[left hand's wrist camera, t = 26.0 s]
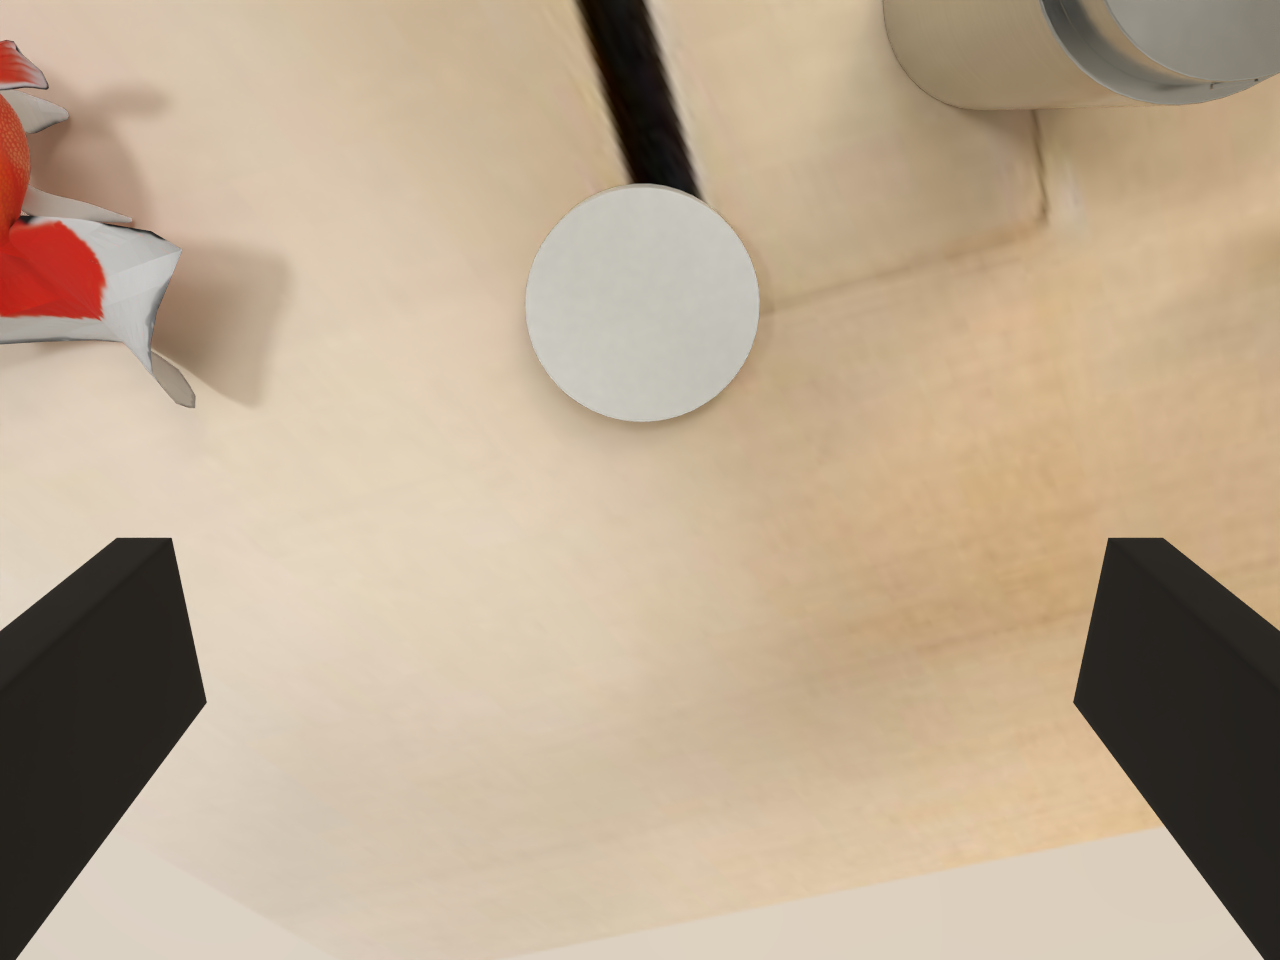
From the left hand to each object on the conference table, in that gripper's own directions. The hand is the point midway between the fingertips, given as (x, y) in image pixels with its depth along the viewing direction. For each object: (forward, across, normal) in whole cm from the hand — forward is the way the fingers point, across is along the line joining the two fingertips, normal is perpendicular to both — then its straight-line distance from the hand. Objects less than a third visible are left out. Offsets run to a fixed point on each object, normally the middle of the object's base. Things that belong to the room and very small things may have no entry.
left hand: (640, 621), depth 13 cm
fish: (+26, -22, +3) cm, 34 cm away
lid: (+24, 0, 0) cm, 24 cm away
